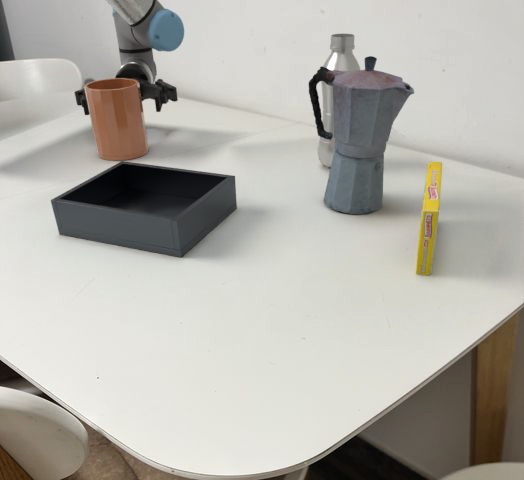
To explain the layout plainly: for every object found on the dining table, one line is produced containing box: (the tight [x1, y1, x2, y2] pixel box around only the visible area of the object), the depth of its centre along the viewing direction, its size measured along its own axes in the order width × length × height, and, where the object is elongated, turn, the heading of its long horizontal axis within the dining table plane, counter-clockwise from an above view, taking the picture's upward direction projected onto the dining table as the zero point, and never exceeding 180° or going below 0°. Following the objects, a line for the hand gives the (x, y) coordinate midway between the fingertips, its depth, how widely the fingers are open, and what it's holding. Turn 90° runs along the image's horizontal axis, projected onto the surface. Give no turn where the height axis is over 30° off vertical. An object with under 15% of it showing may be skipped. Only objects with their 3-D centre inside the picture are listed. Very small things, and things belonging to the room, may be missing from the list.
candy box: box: [415, 161, 443, 276], centre depth 71 cm, size 16×2×8 cm, turn 165°
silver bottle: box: [317, 33, 361, 168], centre depth 93 cm, size 6×7×20 cm
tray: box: [50, 160, 238, 258], centre depth 81 cm, size 20×17×5 cm
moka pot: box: [308, 55, 415, 215], centre depth 79 cm, size 10×15×20 cm, turn 60°
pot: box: [83, 77, 149, 162], centre depth 104 cm, size 9×9×12 cm
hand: (121, 106), depth 108 cm, fingers open, 13 cm apart
